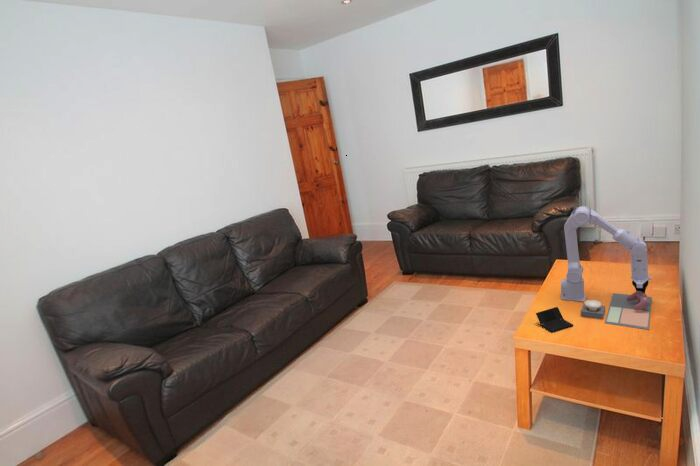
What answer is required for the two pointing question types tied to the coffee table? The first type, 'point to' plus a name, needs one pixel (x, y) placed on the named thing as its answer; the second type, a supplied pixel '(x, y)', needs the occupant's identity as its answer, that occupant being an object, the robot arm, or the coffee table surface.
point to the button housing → (593, 312)
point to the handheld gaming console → (553, 320)
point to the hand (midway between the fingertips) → (641, 296)
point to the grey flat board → (628, 313)
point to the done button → (593, 304)
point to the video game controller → (639, 300)
